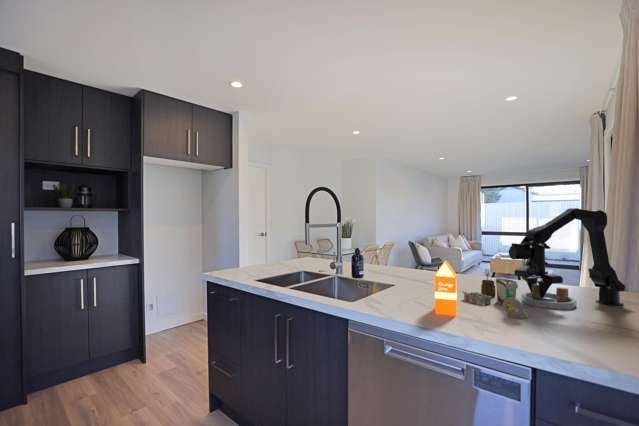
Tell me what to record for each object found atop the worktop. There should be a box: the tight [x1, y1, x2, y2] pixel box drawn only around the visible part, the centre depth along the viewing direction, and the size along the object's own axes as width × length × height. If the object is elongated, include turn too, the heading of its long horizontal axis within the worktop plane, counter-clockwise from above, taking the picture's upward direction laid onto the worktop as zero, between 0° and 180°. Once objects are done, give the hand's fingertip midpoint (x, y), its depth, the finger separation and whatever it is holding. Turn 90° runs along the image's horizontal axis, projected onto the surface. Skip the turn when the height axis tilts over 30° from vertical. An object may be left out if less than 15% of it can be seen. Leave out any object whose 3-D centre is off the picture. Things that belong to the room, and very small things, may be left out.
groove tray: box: [521, 291, 577, 310], centre depth 133 cm, size 18×18×2 cm
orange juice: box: [434, 259, 458, 317], centre depth 123 cm, size 8×9×20 cm
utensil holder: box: [480, 268, 497, 298], centre depth 146 cm, size 6×6×12 cm
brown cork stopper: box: [555, 286, 569, 303], centre depth 131 cm, size 4×4×6 cm
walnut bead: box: [531, 283, 543, 300], centre depth 132 cm, size 4×4×6 cm
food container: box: [495, 278, 519, 308], centre depth 131 cm, size 12×6×10 cm, turn 168°
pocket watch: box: [502, 291, 528, 319], centre depth 115 cm, size 8×8×10 cm
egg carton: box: [462, 291, 493, 306], centre depth 136 cm, size 11×8×4 cm
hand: (537, 295), depth 132 cm, fingers closed on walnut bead, 4 cm apart
